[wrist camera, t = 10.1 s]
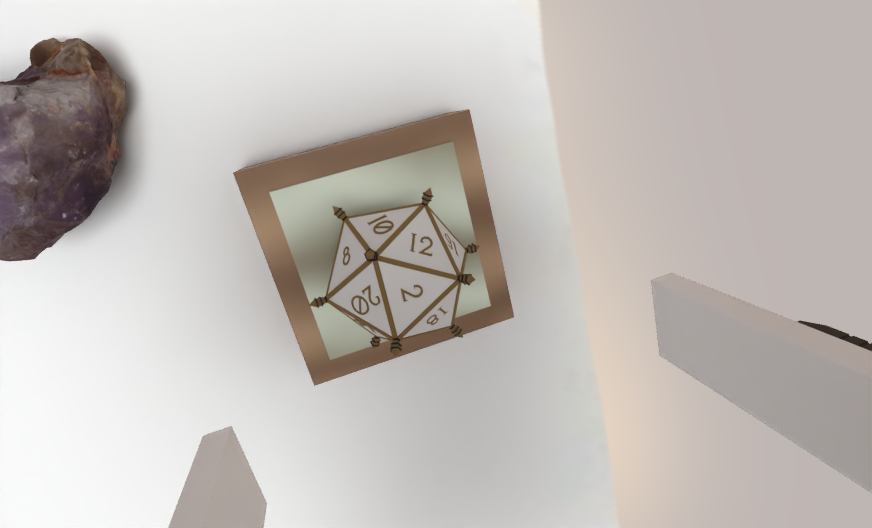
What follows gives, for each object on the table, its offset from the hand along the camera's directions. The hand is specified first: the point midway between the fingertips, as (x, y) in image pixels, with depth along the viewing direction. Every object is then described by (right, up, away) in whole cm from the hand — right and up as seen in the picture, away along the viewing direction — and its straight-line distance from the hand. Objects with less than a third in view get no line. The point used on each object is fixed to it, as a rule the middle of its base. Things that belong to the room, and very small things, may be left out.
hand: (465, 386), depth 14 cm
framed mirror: (-5, +5, +19) cm, 21 cm away
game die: (-4, +4, +15) cm, 16 cm away
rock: (-23, +10, +14) cm, 29 cm away
